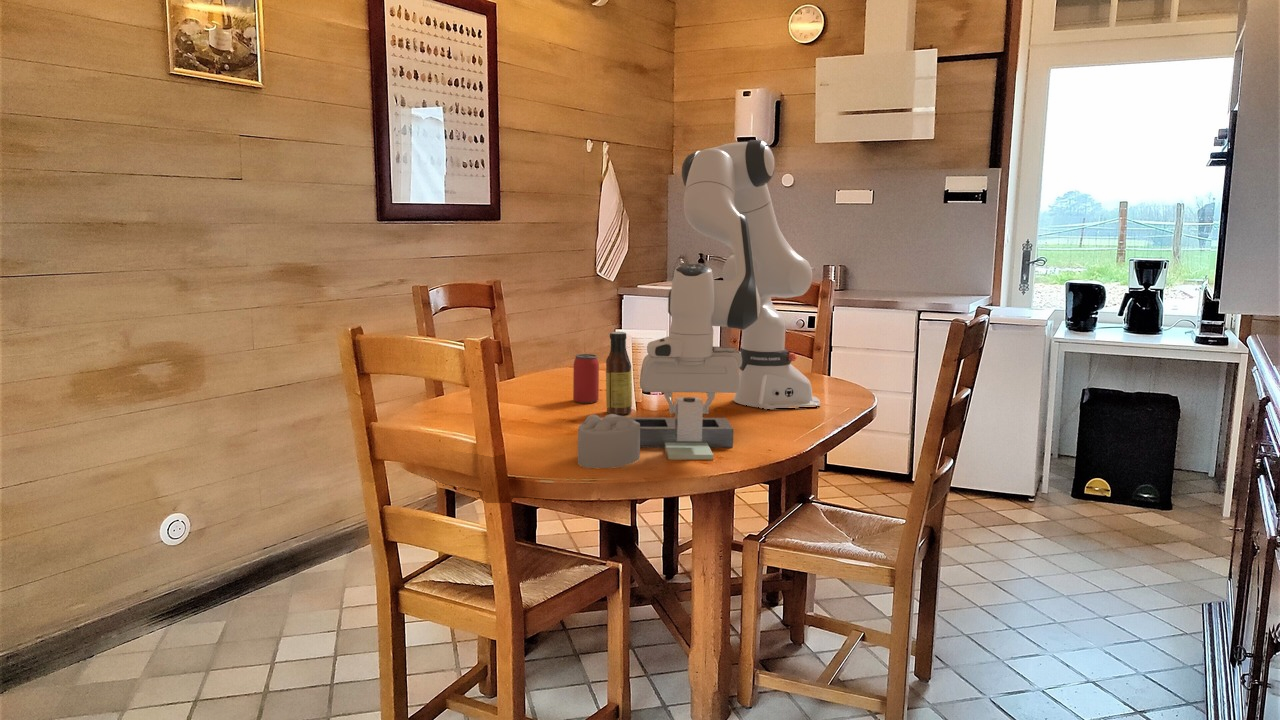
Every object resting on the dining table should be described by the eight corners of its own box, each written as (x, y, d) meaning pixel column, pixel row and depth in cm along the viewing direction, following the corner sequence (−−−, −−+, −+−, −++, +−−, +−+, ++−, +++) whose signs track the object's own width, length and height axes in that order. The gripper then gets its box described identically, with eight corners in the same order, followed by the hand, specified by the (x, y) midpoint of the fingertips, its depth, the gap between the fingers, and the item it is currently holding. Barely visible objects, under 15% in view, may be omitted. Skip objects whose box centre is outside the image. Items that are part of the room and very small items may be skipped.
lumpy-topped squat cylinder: (646, 458, 172) (647, 416, 170) (605, 473, 161) (606, 428, 160) (606, 449, 178) (606, 408, 176) (564, 462, 167) (564, 419, 166)
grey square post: (698, 434, 178) (699, 395, 176) (701, 441, 173) (703, 401, 171) (674, 434, 177) (675, 395, 176) (677, 441, 172) (678, 400, 171)
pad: (706, 447, 180) (707, 442, 180) (713, 459, 171) (713, 454, 171) (664, 447, 180) (664, 442, 179) (668, 459, 171) (668, 454, 171)
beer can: (600, 399, 225) (600, 354, 223) (596, 404, 219) (597, 358, 217) (575, 398, 226) (575, 353, 224) (571, 403, 219) (571, 357, 217)
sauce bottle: (636, 413, 210) (638, 333, 207) (619, 417, 206) (620, 335, 202) (617, 408, 214) (619, 330, 211) (600, 412, 210) (601, 332, 207)
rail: (725, 435, 190) (725, 417, 190) (732, 447, 181) (733, 429, 180) (617, 435, 189) (617, 417, 188) (619, 447, 179) (619, 428, 178)
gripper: (739, 344, 176) (736, 410, 178) (640, 343, 174) (638, 409, 177) (744, 349, 169) (742, 417, 172) (641, 348, 168) (640, 416, 170)
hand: (688, 413), depth 174 cm, fingers closed on grey square post, 5 cm apart
